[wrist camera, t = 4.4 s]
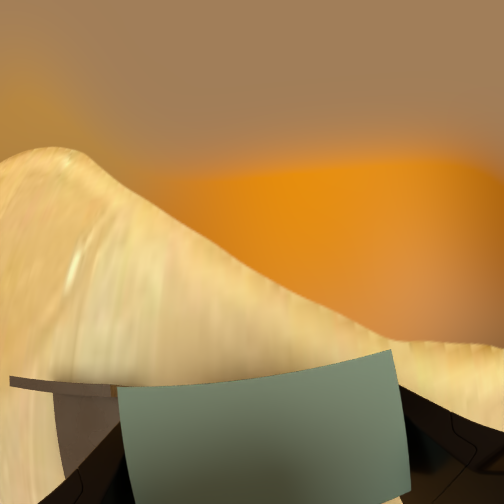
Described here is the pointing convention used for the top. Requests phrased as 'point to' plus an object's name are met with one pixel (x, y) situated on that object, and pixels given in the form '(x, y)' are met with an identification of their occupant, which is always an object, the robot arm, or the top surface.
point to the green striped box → (270, 438)
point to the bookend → (78, 415)
